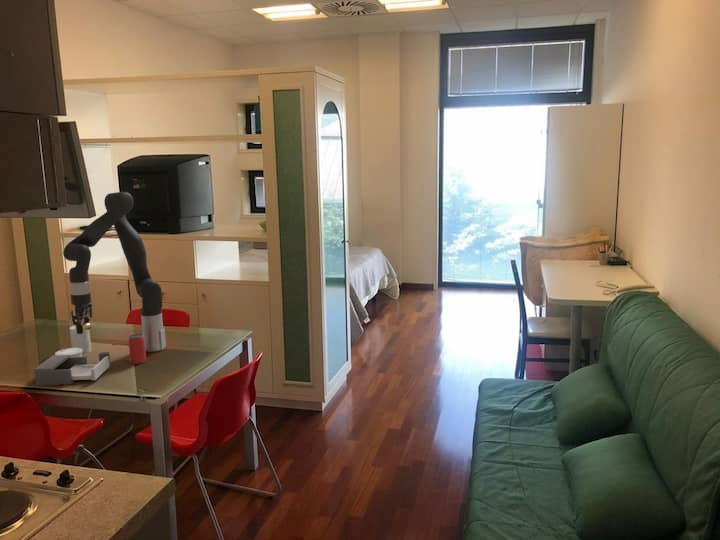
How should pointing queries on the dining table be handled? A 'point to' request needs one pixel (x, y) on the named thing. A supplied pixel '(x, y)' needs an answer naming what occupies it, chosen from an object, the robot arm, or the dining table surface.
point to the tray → (89, 370)
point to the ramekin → (70, 352)
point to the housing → (57, 370)
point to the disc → (85, 325)
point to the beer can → (137, 349)
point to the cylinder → (104, 354)
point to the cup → (80, 340)
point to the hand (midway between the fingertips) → (83, 331)
